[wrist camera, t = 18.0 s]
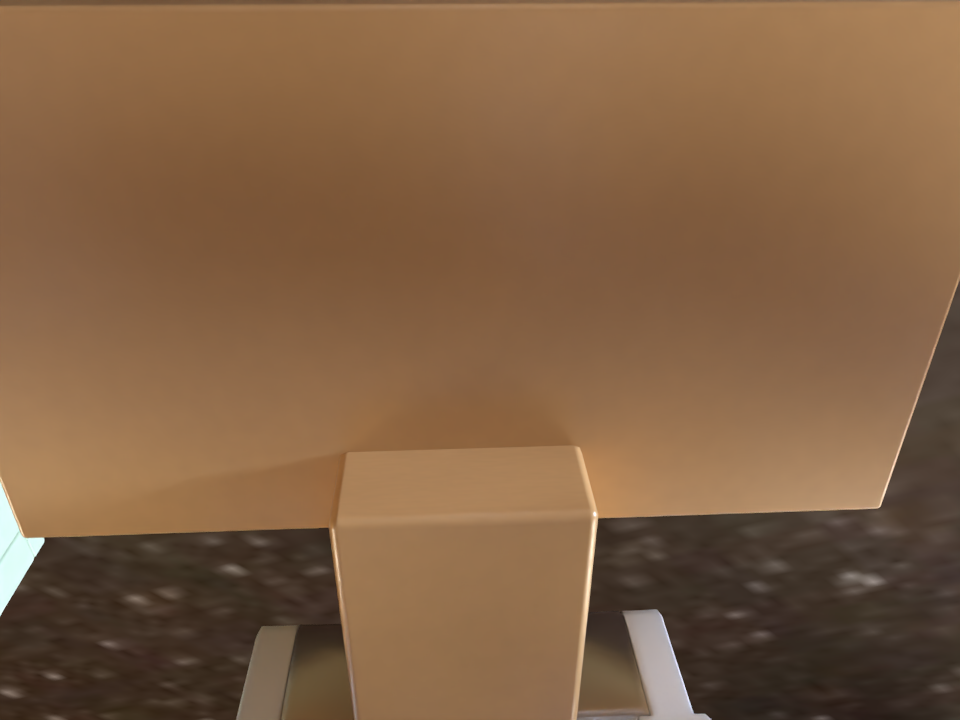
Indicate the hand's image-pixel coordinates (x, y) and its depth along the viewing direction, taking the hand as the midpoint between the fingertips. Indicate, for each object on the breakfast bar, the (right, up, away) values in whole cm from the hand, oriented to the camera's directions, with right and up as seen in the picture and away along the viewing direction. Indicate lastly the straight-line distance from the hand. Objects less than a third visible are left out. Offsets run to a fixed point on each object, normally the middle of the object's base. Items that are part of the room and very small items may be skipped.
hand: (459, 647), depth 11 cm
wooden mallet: (0, +3, +1) cm, 3 cm away
